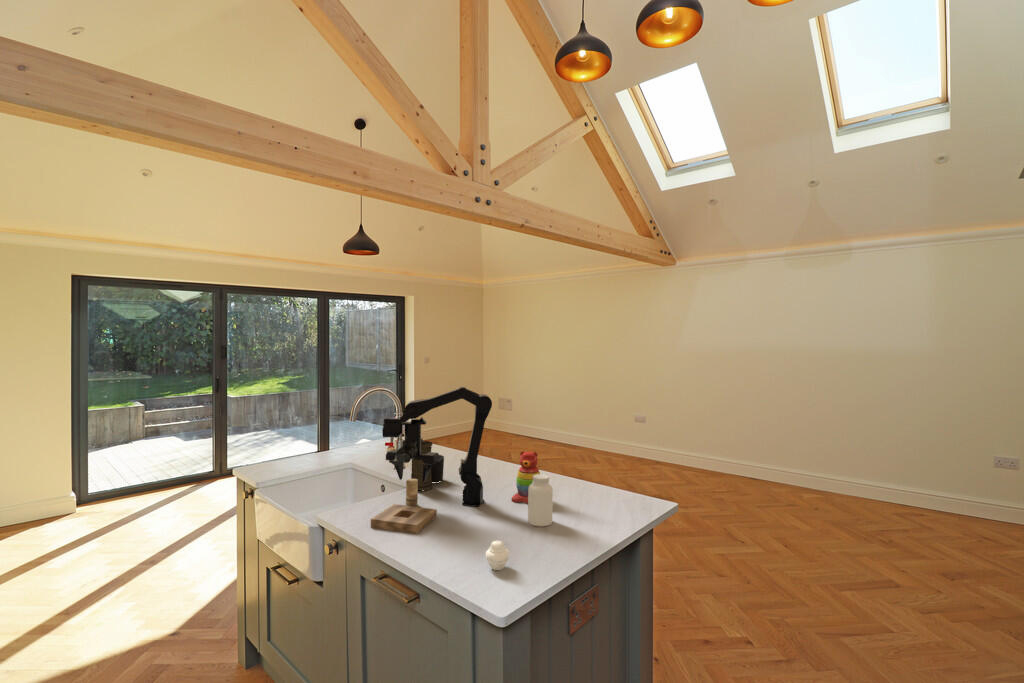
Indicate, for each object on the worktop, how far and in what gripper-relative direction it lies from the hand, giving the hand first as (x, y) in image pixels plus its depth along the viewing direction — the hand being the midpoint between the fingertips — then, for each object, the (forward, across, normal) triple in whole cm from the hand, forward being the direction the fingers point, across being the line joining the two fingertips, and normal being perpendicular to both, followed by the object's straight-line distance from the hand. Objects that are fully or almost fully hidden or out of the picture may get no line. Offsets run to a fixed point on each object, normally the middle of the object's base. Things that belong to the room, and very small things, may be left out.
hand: (412, 480), depth 164 cm
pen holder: (+9, -6, +29) cm, 31 cm away
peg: (+9, 0, 0) cm, 9 cm away
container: (+9, -6, +19) cm, 22 cm away
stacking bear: (+9, +38, +19) cm, 43 cm away
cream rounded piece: (+9, +43, -34) cm, 56 cm away
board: (+9, +5, -14) cm, 17 cm away
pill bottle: (+9, +47, -1) cm, 48 cm away
